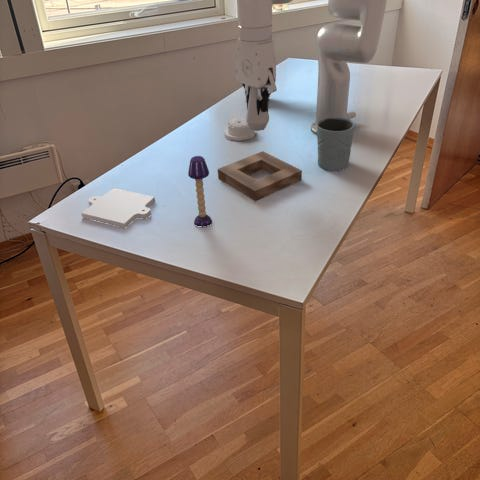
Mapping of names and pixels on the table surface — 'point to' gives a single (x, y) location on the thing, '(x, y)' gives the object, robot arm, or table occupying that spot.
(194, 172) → the toy lamp
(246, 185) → the holder board
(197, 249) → the table surface
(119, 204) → the mounting plate
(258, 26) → the robot arm
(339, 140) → the green embossed cup
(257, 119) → the salt shaker
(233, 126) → the mechanical component
